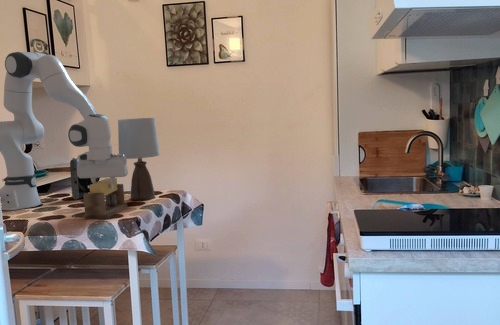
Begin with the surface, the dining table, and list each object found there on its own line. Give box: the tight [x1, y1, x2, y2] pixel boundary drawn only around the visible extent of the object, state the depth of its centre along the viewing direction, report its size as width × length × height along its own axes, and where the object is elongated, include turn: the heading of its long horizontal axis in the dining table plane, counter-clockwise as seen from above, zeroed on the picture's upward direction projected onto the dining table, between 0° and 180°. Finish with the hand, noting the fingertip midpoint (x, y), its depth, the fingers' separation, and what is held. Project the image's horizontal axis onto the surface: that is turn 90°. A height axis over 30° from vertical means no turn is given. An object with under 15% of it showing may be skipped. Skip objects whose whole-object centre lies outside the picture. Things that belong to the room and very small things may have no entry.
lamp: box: [117, 117, 161, 201], centre depth 217 cm, size 19×19×37 cm
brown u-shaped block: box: [82, 183, 128, 220], centre depth 190 cm, size 10×20×10 cm, turn 174°
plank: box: [88, 177, 118, 196], centre depth 189 cm, size 4×16×5 cm, turn 174°
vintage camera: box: [69, 157, 105, 200], centre depth 225 cm, size 10×16×20 cm, turn 80°
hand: (104, 188), depth 189 cm, fingers closed on plank, 4 cm apart
